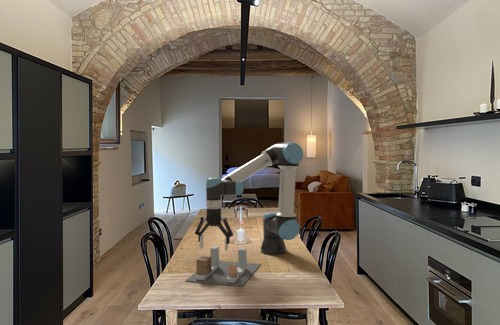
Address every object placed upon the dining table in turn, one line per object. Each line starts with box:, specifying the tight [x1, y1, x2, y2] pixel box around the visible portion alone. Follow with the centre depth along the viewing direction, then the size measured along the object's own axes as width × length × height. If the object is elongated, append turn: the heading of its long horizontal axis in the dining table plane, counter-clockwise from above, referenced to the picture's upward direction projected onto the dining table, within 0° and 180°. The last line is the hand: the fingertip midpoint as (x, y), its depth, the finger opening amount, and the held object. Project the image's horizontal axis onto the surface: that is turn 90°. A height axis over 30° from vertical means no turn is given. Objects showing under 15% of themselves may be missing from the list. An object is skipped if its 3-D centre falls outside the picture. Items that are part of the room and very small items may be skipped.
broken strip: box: [226, 247, 248, 283], centre depth 179 cm, size 20×4×10 cm, turn 163°
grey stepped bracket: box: [196, 245, 220, 280], centre depth 183 cm, size 20×4×10 cm, turn 163°
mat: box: [185, 260, 262, 288], centre depth 185 cm, size 32×28×1 cm
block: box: [195, 256, 212, 275], centre depth 179 cm, size 6×6×7 cm
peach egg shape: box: [229, 264, 237, 278], centre depth 173 cm, size 4×4×5 cm
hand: (213, 249), depth 191 cm, fingers open, 13 cm apart
